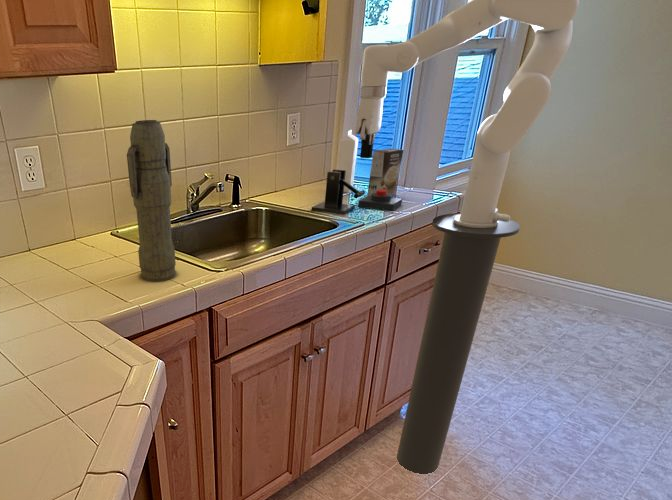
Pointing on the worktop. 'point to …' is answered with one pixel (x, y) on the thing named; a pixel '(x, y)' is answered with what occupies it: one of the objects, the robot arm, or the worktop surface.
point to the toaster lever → (352, 188)
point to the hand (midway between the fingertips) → (365, 157)
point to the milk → (347, 157)
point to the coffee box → (385, 171)
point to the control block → (380, 202)
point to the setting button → (381, 192)
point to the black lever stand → (334, 195)
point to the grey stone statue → (152, 199)
